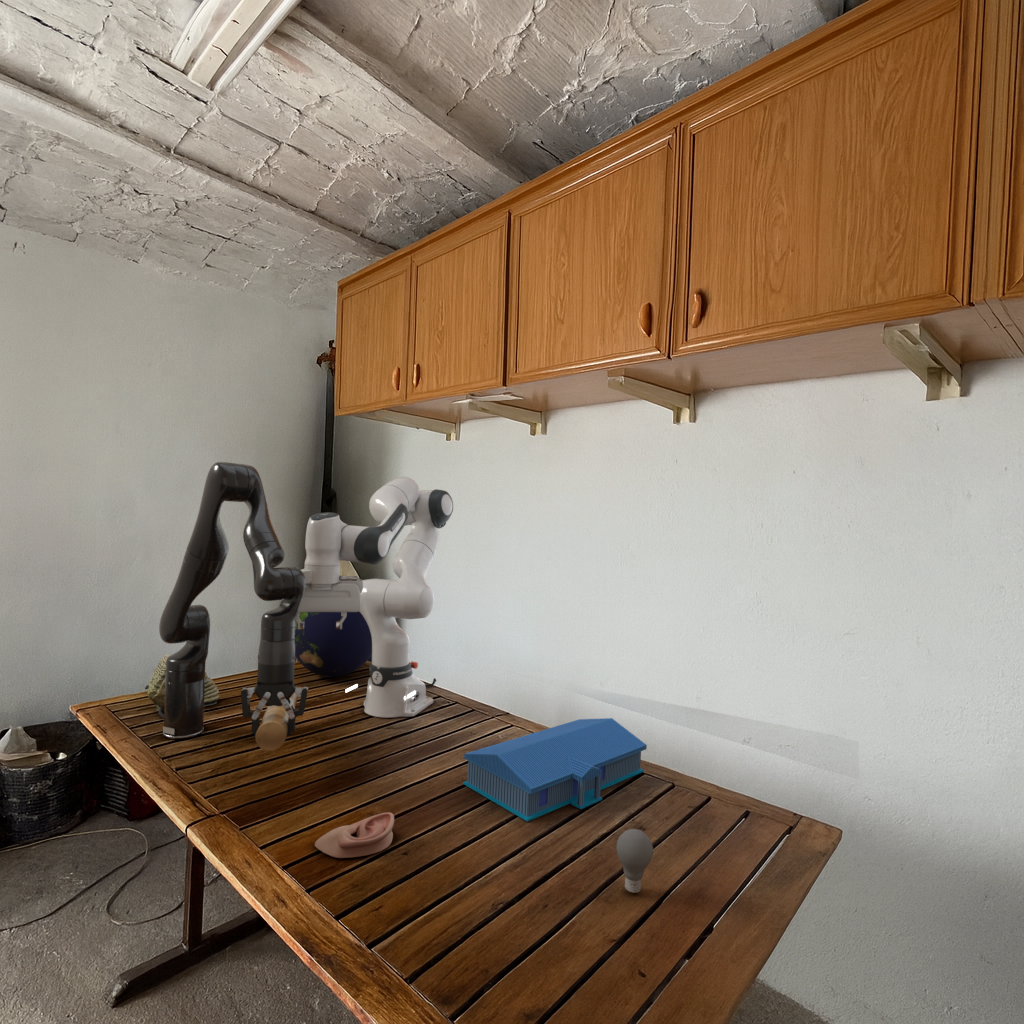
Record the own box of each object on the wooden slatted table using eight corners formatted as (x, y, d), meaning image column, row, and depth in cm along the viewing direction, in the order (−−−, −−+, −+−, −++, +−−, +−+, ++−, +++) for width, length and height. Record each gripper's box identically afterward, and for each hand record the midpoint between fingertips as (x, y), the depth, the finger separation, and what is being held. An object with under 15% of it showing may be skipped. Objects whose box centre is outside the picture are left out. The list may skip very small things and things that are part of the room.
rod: (285, 750, 135) (286, 721, 135) (254, 751, 133) (256, 722, 133) (297, 710, 159) (298, 686, 159) (271, 710, 158) (272, 686, 157)
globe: (268, 679, 214) (272, 591, 213) (326, 660, 242) (329, 582, 241) (341, 693, 203) (345, 600, 202) (393, 671, 230) (396, 589, 230)
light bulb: (610, 879, 108) (613, 822, 108) (644, 879, 109) (647, 822, 109) (619, 902, 102) (622, 840, 102) (655, 901, 103) (658, 840, 103)
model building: (538, 828, 124) (540, 777, 124) (462, 783, 143) (463, 739, 142) (655, 776, 151) (657, 734, 151) (578, 743, 169) (579, 706, 169)
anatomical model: (306, 830, 112) (337, 801, 124) (305, 853, 112) (336, 821, 124) (376, 842, 110) (401, 811, 121) (375, 865, 110) (400, 831, 121)
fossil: (144, 707, 182) (145, 655, 182) (212, 696, 194) (213, 647, 194) (151, 716, 175) (153, 662, 175) (221, 703, 188) (223, 653, 188)
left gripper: (312, 654, 143) (309, 727, 144) (244, 654, 140) (241, 729, 140) (309, 663, 136) (306, 740, 136) (238, 663, 133) (234, 742, 133)
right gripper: (363, 574, 169) (361, 626, 169) (282, 573, 164) (280, 626, 164) (363, 577, 162) (361, 631, 163) (279, 576, 158) (277, 631, 158)
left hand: (273, 734), depth 138 cm, fingers closed on rod, 6 cm apart
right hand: (320, 629), depth 163 cm, fingers open, 8 cm apart
